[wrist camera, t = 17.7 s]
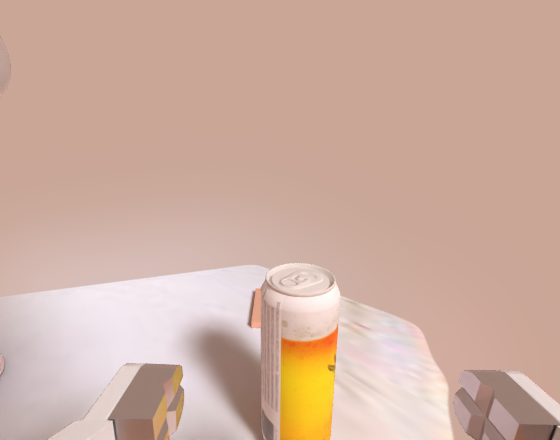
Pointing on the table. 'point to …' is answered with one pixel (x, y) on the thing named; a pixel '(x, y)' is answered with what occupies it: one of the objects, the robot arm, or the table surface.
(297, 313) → the beer can
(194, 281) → the table surface
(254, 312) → the tile
